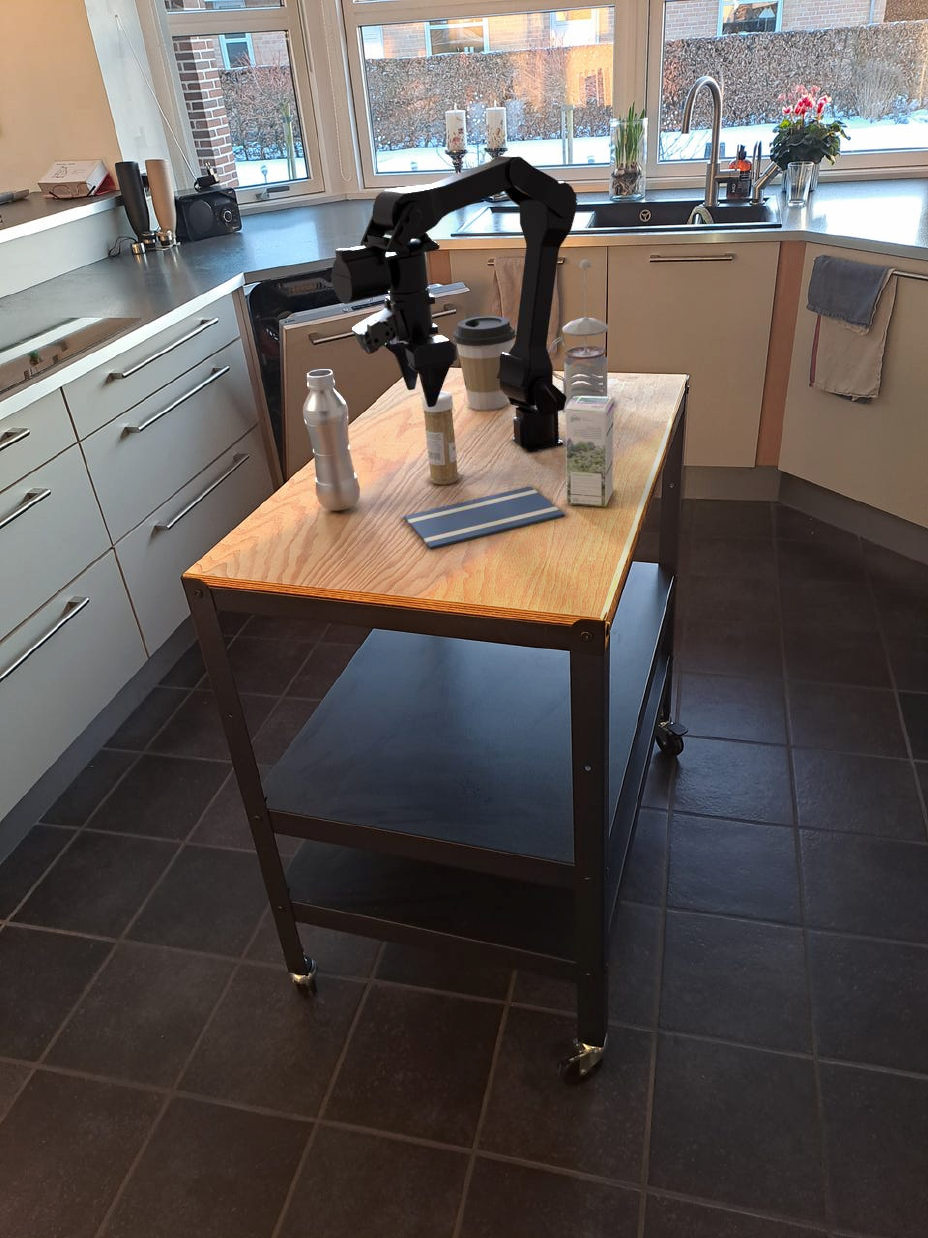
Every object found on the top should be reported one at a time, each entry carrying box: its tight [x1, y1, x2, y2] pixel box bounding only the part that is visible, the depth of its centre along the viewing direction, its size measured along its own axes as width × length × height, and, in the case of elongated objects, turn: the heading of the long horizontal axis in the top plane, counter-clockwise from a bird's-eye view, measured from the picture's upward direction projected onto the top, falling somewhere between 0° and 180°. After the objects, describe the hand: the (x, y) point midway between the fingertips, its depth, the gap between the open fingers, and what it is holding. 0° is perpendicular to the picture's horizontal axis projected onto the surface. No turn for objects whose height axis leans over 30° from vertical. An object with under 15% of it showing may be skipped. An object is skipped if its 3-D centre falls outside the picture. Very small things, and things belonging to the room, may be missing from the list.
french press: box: [547, 259, 610, 412], centre depth 161 cm, size 10×12×25 cm
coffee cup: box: [452, 315, 516, 412], centre depth 168 cm, size 11×11×15 cm
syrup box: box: [564, 396, 615, 508], centre depth 129 cm, size 6×6×14 cm
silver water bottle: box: [302, 368, 361, 511], centre depth 132 cm, size 6×7×20 cm
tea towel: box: [403, 485, 565, 550], centre depth 130 cm, size 20×11×1 cm, turn 112°
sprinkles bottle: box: [421, 390, 460, 486], centre depth 139 cm, size 5×5×13 cm
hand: (421, 397), depth 136 cm, fingers open, 9 cm apart
